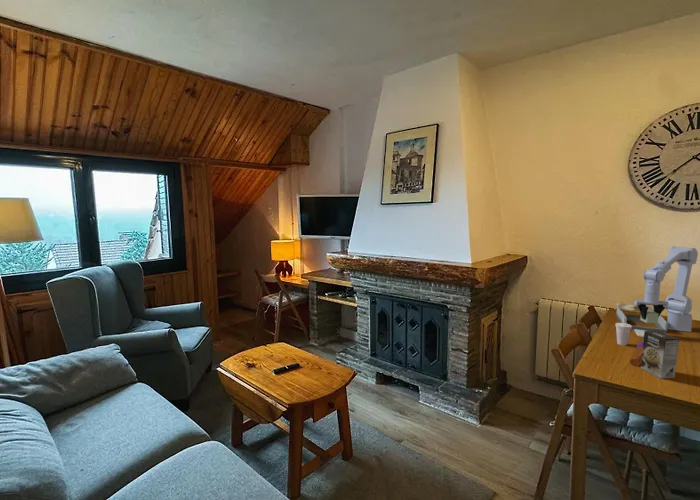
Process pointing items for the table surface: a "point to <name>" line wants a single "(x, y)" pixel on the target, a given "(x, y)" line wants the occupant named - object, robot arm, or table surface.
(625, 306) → the lid
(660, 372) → the grey cardboard box
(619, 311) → the grey shallow open box
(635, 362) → the kendama
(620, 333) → the smoothie
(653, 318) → the block
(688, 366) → the table surface
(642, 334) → the tile
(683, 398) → the table surface
